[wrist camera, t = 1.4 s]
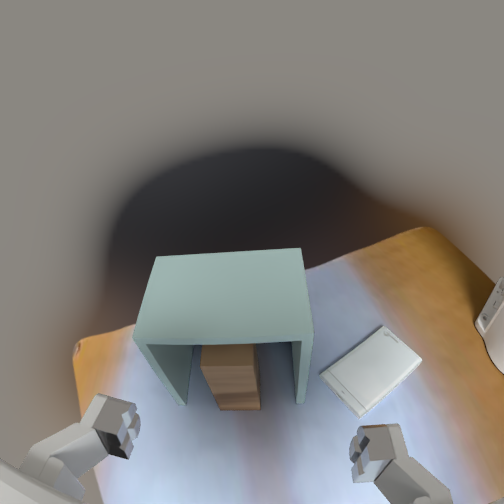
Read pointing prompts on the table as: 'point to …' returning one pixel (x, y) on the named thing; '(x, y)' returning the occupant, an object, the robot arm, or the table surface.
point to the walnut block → (232, 375)
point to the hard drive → (370, 371)
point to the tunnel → (224, 310)
